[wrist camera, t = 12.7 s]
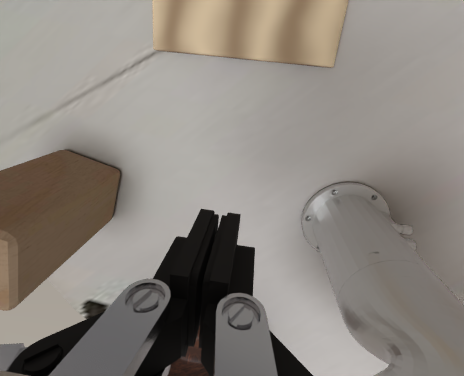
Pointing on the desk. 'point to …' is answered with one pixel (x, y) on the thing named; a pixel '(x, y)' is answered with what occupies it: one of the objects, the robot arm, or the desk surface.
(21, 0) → the desk surface
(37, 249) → the wooden block
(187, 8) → the board
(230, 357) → the robot arm
